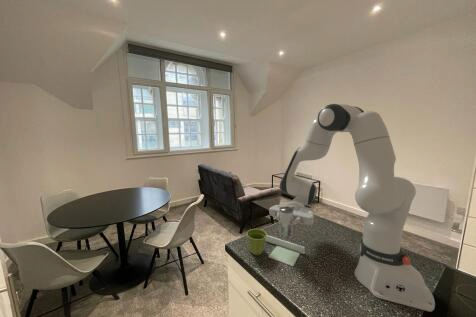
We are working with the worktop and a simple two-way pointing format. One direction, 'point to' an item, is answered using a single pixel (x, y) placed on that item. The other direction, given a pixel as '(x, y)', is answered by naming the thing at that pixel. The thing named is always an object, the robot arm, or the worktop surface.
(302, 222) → the robot arm
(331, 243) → the worktop surface
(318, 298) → the worktop surface
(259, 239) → the plant pot
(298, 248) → the wall
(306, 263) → the worktop surface
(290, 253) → the pad
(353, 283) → the worktop surface
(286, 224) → the canister
